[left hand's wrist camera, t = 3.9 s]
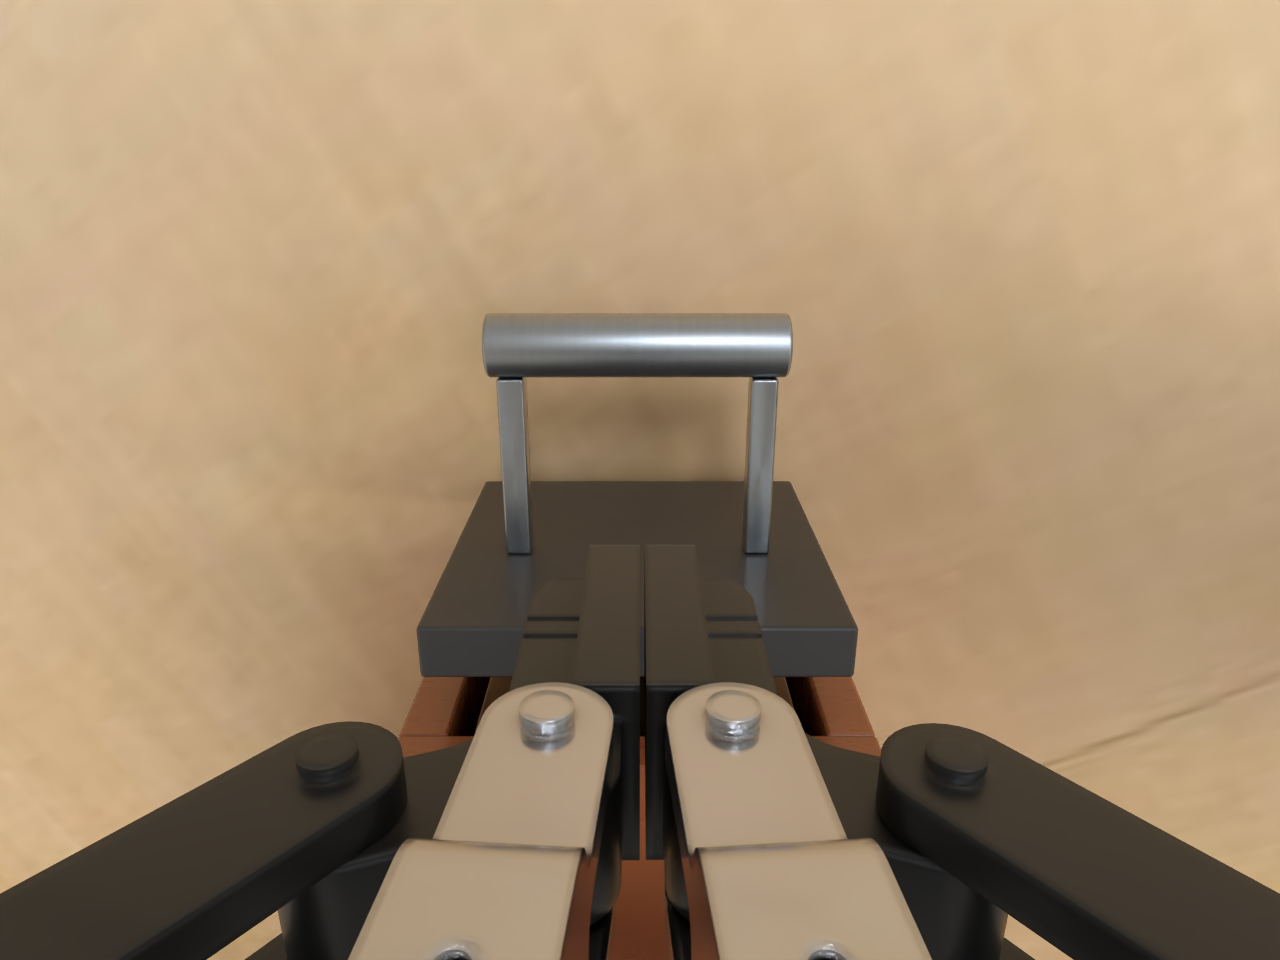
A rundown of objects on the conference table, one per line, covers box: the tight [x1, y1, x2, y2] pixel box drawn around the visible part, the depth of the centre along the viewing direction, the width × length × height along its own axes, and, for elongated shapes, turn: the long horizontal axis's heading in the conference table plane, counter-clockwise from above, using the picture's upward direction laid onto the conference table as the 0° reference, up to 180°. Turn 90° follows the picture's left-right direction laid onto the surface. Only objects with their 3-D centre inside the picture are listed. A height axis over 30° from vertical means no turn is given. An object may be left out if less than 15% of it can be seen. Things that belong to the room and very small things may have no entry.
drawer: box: [417, 314, 858, 736], centre depth 24 cm, size 25×9×8 cm, turn 0°
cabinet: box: [398, 677, 881, 960], centre depth 26 cm, size 20×10×11 cm, turn 0°
